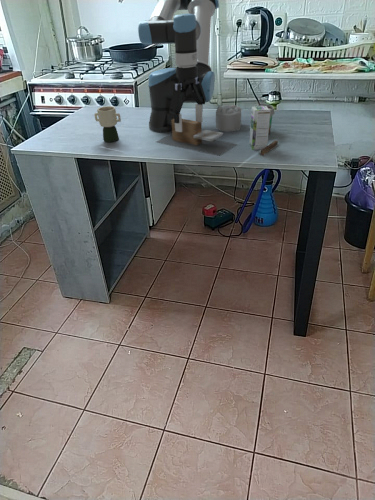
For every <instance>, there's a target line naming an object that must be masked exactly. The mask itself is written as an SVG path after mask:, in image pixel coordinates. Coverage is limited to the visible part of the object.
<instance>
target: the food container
mask: <svg viewBox="0 0 375 500" xmlns="http://www.w3.org/2000/svg"><path fill="white" fill-rule="evenodd" d="M259 106H267V107H268V108H269V110H270V122H269V133H268V136H269V135H270V133H271V129H272V121H273V116H274V115H275V109H274V106H272V105H270V104H265V103H259Z"/></svg>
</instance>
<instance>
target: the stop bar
mask: <svg viewBox="0 0 375 500" xmlns="http://www.w3.org/2000/svg"><path fill="white" fill-rule="evenodd" d="M278 144H279V141H278V140H273V141H272V142H271V143H270V144H269V143H268V145H267V147H265V148H264V149H262V150H259V151H260V154H259V155H260V156H265V155H266V154H267V153H268V152H270V151H272V150H273V149H274V148H275V147H277V146H278ZM264 154H265V155H264Z"/></svg>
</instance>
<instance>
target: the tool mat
mask: <svg viewBox="0 0 375 500" xmlns="http://www.w3.org/2000/svg"><path fill="white" fill-rule="evenodd" d="M155 143H157V144H163V145H167V146H172V147H176V148H181V149H187V150H190V151H191V150H192V151H196V152H200V153H205V154H210V155H214V156H221V155H224V153H226V152H228V151H229V150H231V149H232V148H234V147H236V146H238V144H237V143H233V142H227V141H223V140H218V139H215V140H213V141H207V140H202V143H200V144H199V145H195V144H190V143H185V142H180V141H175V140H173V136H172V133H171V134H169V135H167V136H165V137H163V138H161V139H158V140H156V141H155Z"/></svg>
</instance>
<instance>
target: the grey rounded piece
mask: <svg viewBox="0 0 375 500" xmlns="http://www.w3.org/2000/svg"><path fill="white" fill-rule="evenodd" d="M241 127H242V108H241V107H240V106H238V105H236V104H223V105H222V106H218V107H217V108H216V111H215V129H217V130H218V131H219V132H220V131H221V132H233V131H234V132H235V131H236V132H237V131H239V130H240V129H241Z"/></svg>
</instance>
